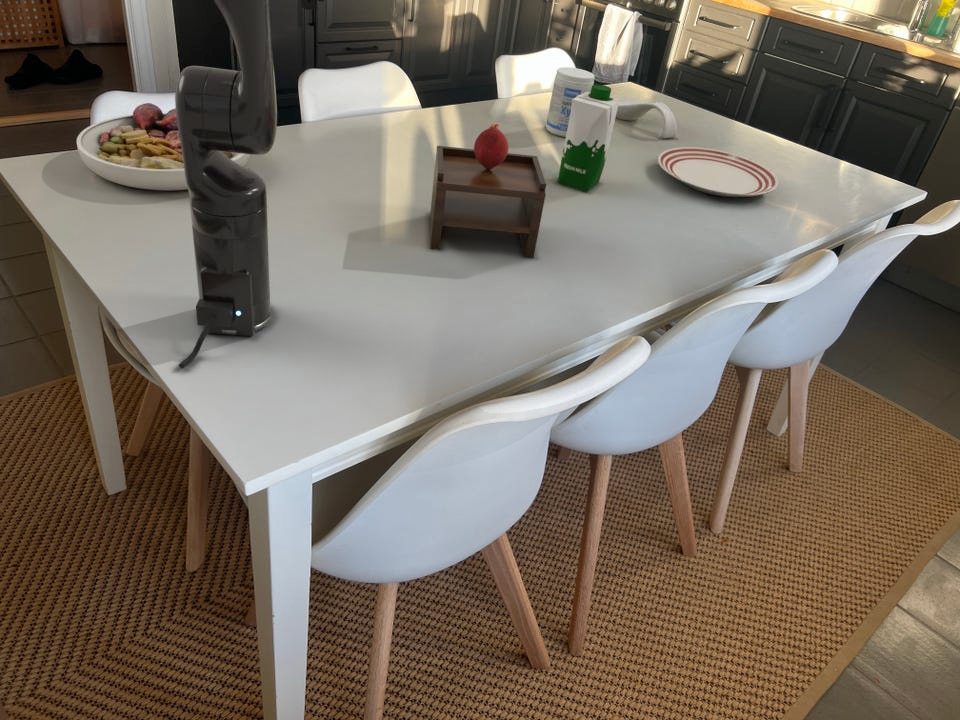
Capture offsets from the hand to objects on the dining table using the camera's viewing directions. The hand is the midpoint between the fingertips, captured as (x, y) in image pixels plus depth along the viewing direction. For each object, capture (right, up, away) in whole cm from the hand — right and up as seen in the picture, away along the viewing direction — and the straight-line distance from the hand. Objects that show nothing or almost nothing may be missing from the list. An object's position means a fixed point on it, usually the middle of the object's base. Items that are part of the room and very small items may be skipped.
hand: (314, 4), depth 110 cm
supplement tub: (+45, +6, +81) cm, 93 cm away
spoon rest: (+67, +12, +95) cm, 117 cm away
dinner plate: (+78, -11, +65) cm, 103 cm away
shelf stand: (+24, -29, +26) cm, 46 cm away
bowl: (-35, -15, +33) cm, 51 cm away
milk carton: (+45, -14, +53) cm, 71 cm away
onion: (+26, -19, +20) cm, 38 cm away
